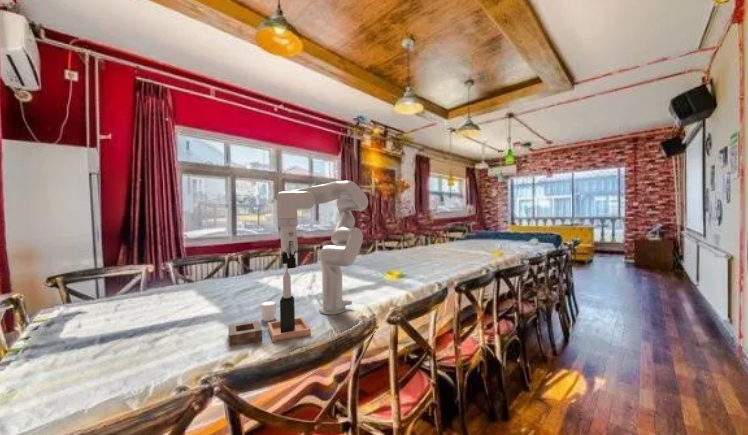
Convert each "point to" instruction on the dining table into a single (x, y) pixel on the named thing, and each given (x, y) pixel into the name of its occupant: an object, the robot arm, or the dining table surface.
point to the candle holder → (245, 333)
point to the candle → (287, 306)
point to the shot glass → (268, 310)
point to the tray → (299, 331)
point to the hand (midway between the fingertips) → (288, 265)
